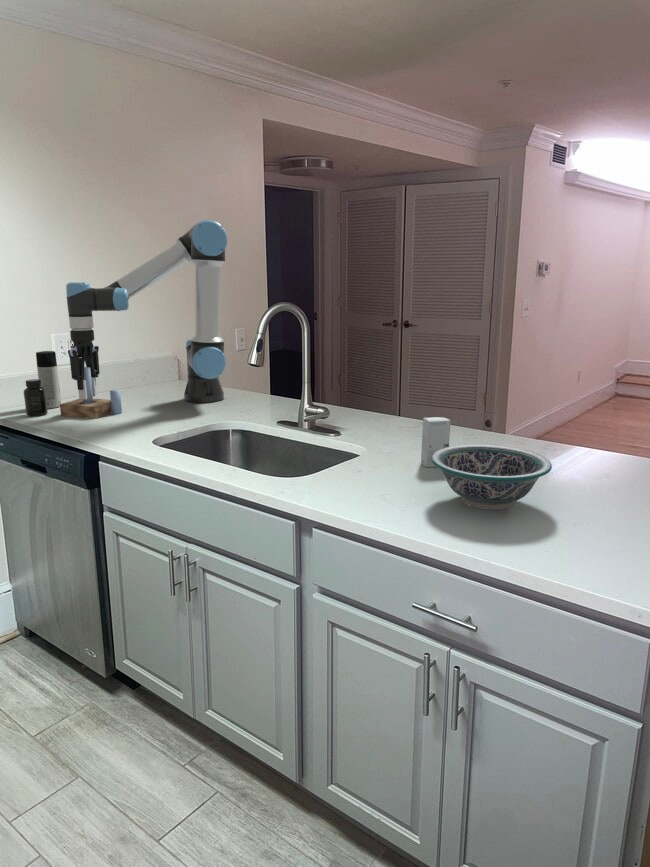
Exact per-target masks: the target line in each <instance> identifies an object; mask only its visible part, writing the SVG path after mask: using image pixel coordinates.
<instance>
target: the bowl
mask: <svg viewBox="0 0 650 867" xmlns="http://www.w3.org/2000/svg"><path fill="white" fill-rule="evenodd" d="M431 460H432V463H433V464H434V465H435V466H436V467H437V468H438V469H440V470H441V471H442V473H443V476H444V478H445V480H446V483H447V484H448V486H449V487H450V489H451V490H452V491H453V492H454V493H455V494H456V495H458V496H460V497H461V498H462V502H463V503H464V504H466V505H467V506H469V507H472V508H475V509H480V510H486V511H489V510H490V511H501V510H506V509H510V508H511V507H512V506H513V505H514V502H517V501H519V500H522V499H523V498H524V497H526V496H527V495H528V494H529V493H530V492H531V490H532V489H533V487H534V485H536V482H537V481H538V480H539V478H541V477H543V476H545V475H548V474H549V473H550V472H551V471H552V468H553V465H552V463H551V461H550V460H549V459H548V458H546V457H545V456H543V455H541V454H538V453H536V452H534V451H530V450H527V449H522V448H517V447H513V446H506V445H505V446H504V445H498V444H497V445H496V444H482V443H481V444H477V443H475V444H459V445H453V446H452V445H451V446H449V447H447V448H443V449H440V450H438V451H436V452H435V453H434V454H433V455H432V457H431Z"/></svg>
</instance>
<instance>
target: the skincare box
mask: <svg viewBox="0 0 650 867" xmlns="http://www.w3.org/2000/svg"><path fill="white" fill-rule="evenodd" d="M450 433H451V419H449V418H446V417H445V416H444V417H443V416H441V417H439V416H437V417H436V416H435V417H434V416H433V417H423V419H422V432H421V436H422V437H421V452H420V453H421V456H420V463H421V464H422V465H423V466H424V467H425V468H433V467H436V466H435V465H434V464H433V463H432V460H431V457H432V455H433V454H434V453H435V452H436V451H438V450H440V449H443V448H447V447H450V435H451V434H450Z"/></svg>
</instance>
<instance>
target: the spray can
mask: <svg viewBox="0 0 650 867" xmlns="http://www.w3.org/2000/svg"><path fill="white" fill-rule="evenodd" d="M35 358H36V359H35V360H36V368H37V376H38V377H37V379H40V380H41V387H43V388H44V389H45V393H46V402H47V409H50V408H51V409H58V408H60V404H62V398H61V390H60V380H59V371H58V364H57V363H58V362H57V353H56V351H53V350H44V351H42V350H41V351H37V352H35ZM57 407H58V408H57Z"/></svg>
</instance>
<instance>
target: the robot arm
mask: <svg viewBox="0 0 650 867" xmlns="http://www.w3.org/2000/svg"><path fill="white" fill-rule="evenodd" d="M228 238H229V237H228V234H227V231H226V229H225V228H224V227H223V225H221V223H219V222H217V221H214V220H211V219H204V220H201V221H199V222H197V223H196V224H194V225H193V226H192V227H191V228H190V229H188V231H186V232H185V233H184V234H183V235H181V236H180V237H179V238H177V239H176V242H175V244H173V245H171V246H170V247H169V248H168V247H167V249H165V250H164V251H161V252H160V253H158V254H157V255H155V256H154V257H152V258H150V259H149V260H148V261H146V262H144V263H143V264H141V265H139V266H138V267H136V268H134V269H132V271H130V272H128V273H127V274H125V275H123V276H122V277H120V278H118V279H117V280H115V281H114V282H112V283H111V284H108V285H107V286H105V287H100V288H99V287H98V288H95V287H92V286H91V284H90V282H86V281H84V282H82V281H80V282H79V281H78V282H77V281H74V282H72V281H71V282H68V283H67V284H66V286H65V287H66V288H65V290H66V302H67V313H68V321H69V329H70V332H69V335H70V341H71V342H73V345H72V347H73V348H72V349H68V350H67V354H68V357H69V364H70V365H69V366H70V372H71V373H70V374H71V379H72V380H74V381H76V384H77V389H78V399H87V390H86V380H84V367H90V370H91V381H92V392H93V398H94V397H98V396H97V395H98V394H97V380H96V378H98V377H99V376H100V362H99V346H98V345H94V344H93V342H94V341H95V330H94V329H93V328H94V327H95V326H94V318H93V312H102V311H103V312H104V311H105V312H107V311H108V312H109V311H110V312H111V311H112V312H115V311H117V312H121V311H128V310H129V309H130V308H129V306H130V305H129V300H130V299H131V298H133V297H135V296H136V295H138V294H140V293H141V292H143V291H144V290H146V289H147V288H149V287H151V286H152V285H154V284H155V283H157V282H159V281H160V280H162V279H164V278H165V277H167V276H168V275H170V274H171V273H173V272H174V271H176V270H178V269H179V268H181V267H182V266H185V265H186V264H187V263H191V264H194V265H195V335H194V336H193V337H192V338H191V339H187V341H186V344H185V350H186V366H187V367H186V368H187V382H186V386H185V388H184V392H183V393H184V394H183V397H184V398H183V400H184V401H185V402H189V403H201V404H202V403H213V402H214V403H215V402H219V401H223V400H224V399H225V392H224V389H223V386H222V383H221V381H220V379H219V378H220V376H221V375H223V373H224V372H225V369H226V367H227V358H226V355H225V340H224V339H223V337H221V276H222V275H221V272H222V271H221V270H222V269H221V268H222V267H223V265H224V264H225V263H226V248H227V246H228V242H229V241H228V240H229V239H228Z"/></svg>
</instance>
